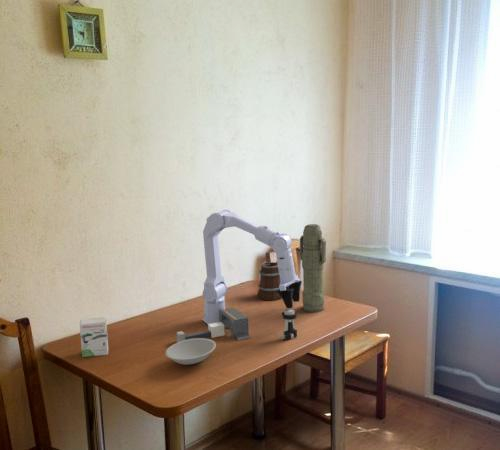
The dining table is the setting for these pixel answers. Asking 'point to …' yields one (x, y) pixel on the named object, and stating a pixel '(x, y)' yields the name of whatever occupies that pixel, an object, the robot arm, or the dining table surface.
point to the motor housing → (235, 323)
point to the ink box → (94, 336)
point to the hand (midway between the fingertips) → (293, 304)
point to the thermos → (313, 267)
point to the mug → (269, 281)
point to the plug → (204, 332)
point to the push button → (289, 324)
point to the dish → (190, 350)
